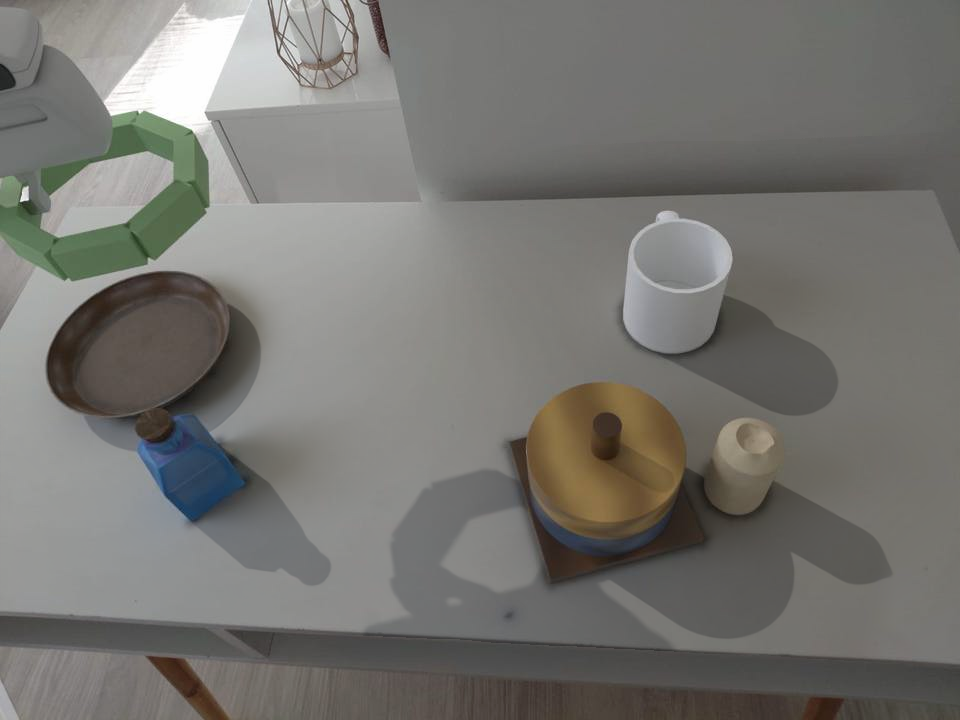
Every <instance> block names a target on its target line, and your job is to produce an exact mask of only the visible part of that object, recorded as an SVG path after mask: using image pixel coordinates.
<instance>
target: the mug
mask: <svg viewBox="0 0 960 720" xmlns="http://www.w3.org/2000/svg"><path fill="white" fill-rule="evenodd" d="M732 265H733V252H732V248H731V246H730V244H729V242H728V240H727V239H726V238H725V236H723V235H722V234H721V233H720V231H718V230H716V229H715V228H713V227H712V226H710V225H708V224H706V223H703V222H700V221H698V220H695V219H694V220H693V219H688V218H680V215H679V213H678V212H676V211H673V210H663V211H659V213H658V214H656V217H655V222H653V223H651V224H647V225H646V226H645V227H644V228H642V229H641V230H640V231H638V232H637V233H636V235H635V236H634V237H633V239H632V240H631V243H630V246H629V249H628V256H627V268H626V279H625V287H624V299H623V310H622V314H623V315H622V319H623V324H624V327H625V329H626V332H627V333H628V334H629V335H630V337H631V338H632V339H633V340H634V341H636V342H637V344H639V345H640V346H642V347H644V348H646V349H649V350H651V351H653V352H657V353H661V354H665V355H666V354H667V355H669V354H671V355H672V354H673V355H678V354H683V353H689V352H691V351H694V350H696V349H698V348H700V347H702V346H703V345H704V344H705V343H707V342H708V341H709V340H710V338H711V336H712V335H713V333H714V332H715V329H716V326H717V322H718V318H719V314H720V310H721V306H722V302H723V300H724V299H723V298H724V294H725V291H726V287H727V285H728V279H729V275H730V271H731V267H732Z"/></svg>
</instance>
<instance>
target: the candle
mask: <svg viewBox="0 0 960 720" xmlns="http://www.w3.org/2000/svg"><path fill="white" fill-rule="evenodd" d="M718 434H719V435H718V437H717V440H716V443H715V446H714V449H713V451H712V455H711V458H710V460H709V464H708V467H707V470H706V472H705V475H704V482H703V486H704V487H703V488H704V492H705V495H706V497H707V499H708V501H709V502H710V503H711V504H712V505H713V506H714V507H715V508H716V509H718V510H720V511H721V512H723V513H726V514H729V515H735V516H736V515H737V516H741V515H742V516H743V515H747V514H750V513H752V512H754V511H755V510H756V509H757V508H758V507H760V506H761V504H762V502H763V501H764V500H765V498H766V495H767V494H768V491H769V490H770V487H771V485H772V484H773V482H774V479H775V478H776V476H777V474H778V472H779V470H780V468H781V466H782V464H783V462H784V460H785V456H786V444H785V440H784V439H783V436H782V435H781V434H780V432H779V430H777V429H776V428H775V427H774V426H772V425H771V424H770V423H768V422H766V421H764V420H762V419H758V418H755V417H740V418H736V419H733V420H731V421H730V422H728V423H726V424H725V425H724V426H723V427H722V429H721V430H720V432H719V433H718Z"/></svg>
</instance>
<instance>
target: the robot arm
mask: <svg viewBox="0 0 960 720" xmlns="http://www.w3.org/2000/svg"><path fill="white" fill-rule="evenodd" d="M44 36H45V35H44V28H43V26H42V24H41V22H40V21H39V18H38V17H37V16H36V15H35V13H33V12H32V11H30V10H29V9H25V8H21V7H19V8H18V7H12V6H11V7H10V6H8V7H7V6H0V179H2V178H4V177H8V176H13V175H14V177H15V178H16V179H17V180H18V182H19V183H25V182H27V181H28V186H26V187H22V193H21V194H22V195H21V198H20V203H21V204H22V206H23V207H24V208H25V209H26V210H27V212H28V213H29V214H30V215H31V216H32V215H37V214H42V215H43V214H46V213H47V214H48V213H50V212H51V207H52V199H51V197H50V196H48V194H47V193H46V191H45V190H44V189H43V187H42V186H41V169H44V168H48V167H53V166H57V165H62V164H66V163H71V162H75V161H80V160H84V159H89V158H93V157H98V156H102V155H105V154H106V153H107V151H108V149H109V146H110V143H111V140H112V134H113V122H112V118H111V116H112V115H111V113H110V112H109V109H108V107H107V106H106V105H105V103H104V101H103V100H102V98H101V97H100V95H99V94H98V92H97V91H96V89H95V88H94V86H93V85H92V83H91V82H90V81H89V79H88V78H87V77H86V76H85V75H84V73H83V72H82V70H81V69H80V68H79V67H78V65H76V63H75V62H74V61H73V60H72V59H71V58H70V57H69V56H68V55H67V54H66V53H64V52H63V51H61V50H60V49H58V48H56V47H54V46H52V45H48V44H44V41H45V37H44Z"/></svg>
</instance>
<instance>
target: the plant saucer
mask: <svg viewBox="0 0 960 720" xmlns="http://www.w3.org/2000/svg"><path fill="white" fill-rule="evenodd" d="M230 320H231V318H230V311H229V306H228V303H227V301H226V298H225V297H224V296H223V294H222V292H221V291H220V290H219V289H218V288H217V287H216V286H215V285H214V284H213V283H212V282H210V281H208V280H207V279H205V278H204V277H201V276H199V275H197V274H194V273H190V272H186V271H180V270H154V271H148V272H143V273H138V274H135V275H131V276H129V277H125V278H123V279H120V280H118V281H116V282H114V283H111V284H109V285H107V286H106V287H104V288H102V289H100V290H99V291H97V292H94V294H92V295H91V296H89V297H88V298H87V299H85V300H84V301H83V302H82V303H81V304H79V305H78V306H77V307H76V308H74V310H73V311H71V313H70V314H69V315H68V316H67V317H66V318H65V320H64V321H63V322H62V323H61V325H60V326H59V328H58V329H57V330H56V331H55V334H54V335H53V338H52V340H51V342H50V344H49V346H48V350H47V353H46V357H45V365H44V374H45V379H46V384H47V386H48V389H49V391H50V393H51V395H53V397H54V398H55V399H56V400H57V402H58V403H59V404H61V405H62V406H64V407H65V408H66V409H68V410H70V411H72V412H74V413H75V414H79V415H82V416H86V417H91V418H99V419H125V418H132V417H138V416H141V415H142V414H144V413H145V412H146V411H148V410H150V409H155V408H161V409H163V408H165V407H167V406H169V405H171V404H172V403H174V402H176V401H179V400H180V399H181V398H182V397H184V396H186V395H187V394H188V393H190V392H191V391H192V390H193V389H194V388H195V387H197V386H198V385H199V384H200V383H201V382H203V380H204V379H205V378H206V377H207V375H209V373H210V372H211V370H212V369H213V368H214V366H215V365H216V363H217V362H218V360H219V359H220V357H221V355H222V352H223V351H224V348H225V345H226V343H227V339H228V336H229V330H230V323H231V322H230Z"/></svg>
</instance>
